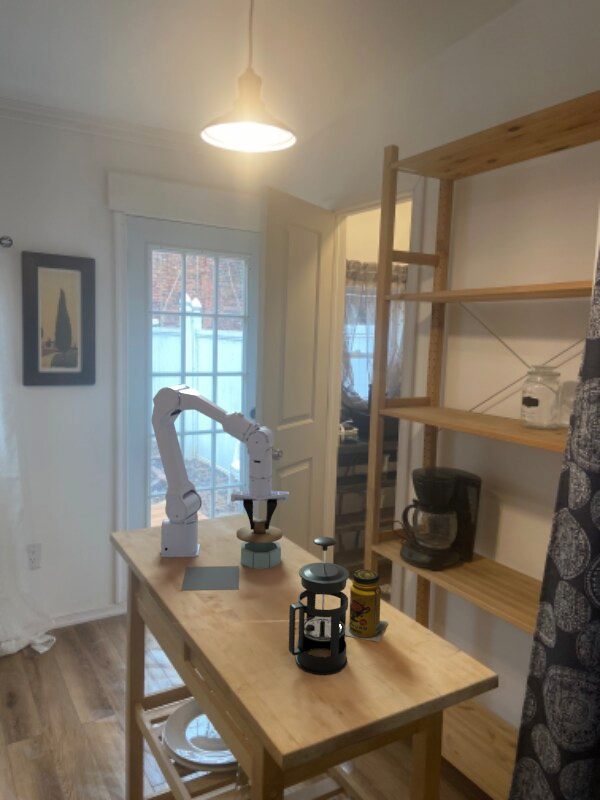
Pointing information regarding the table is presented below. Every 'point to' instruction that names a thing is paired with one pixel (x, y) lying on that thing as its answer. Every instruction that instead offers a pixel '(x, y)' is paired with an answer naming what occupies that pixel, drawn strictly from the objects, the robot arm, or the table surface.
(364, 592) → the condiment
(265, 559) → the bowl
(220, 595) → the table surface
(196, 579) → the mat
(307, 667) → the french press
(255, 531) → the lid
